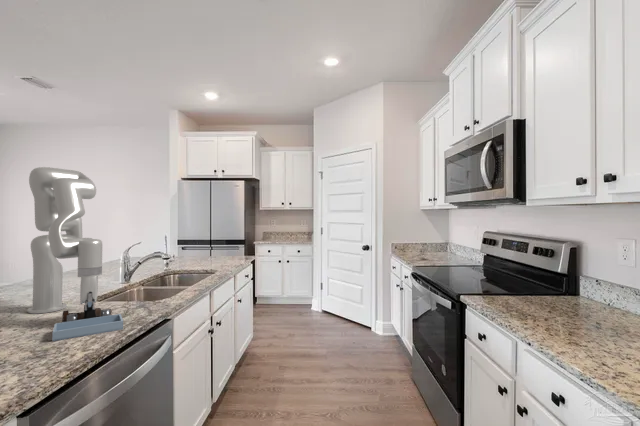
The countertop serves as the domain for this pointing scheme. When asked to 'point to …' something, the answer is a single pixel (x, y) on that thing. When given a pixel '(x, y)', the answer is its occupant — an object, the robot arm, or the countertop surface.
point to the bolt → (82, 314)
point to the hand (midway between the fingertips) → (89, 317)
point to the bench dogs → (74, 316)
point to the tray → (87, 327)
